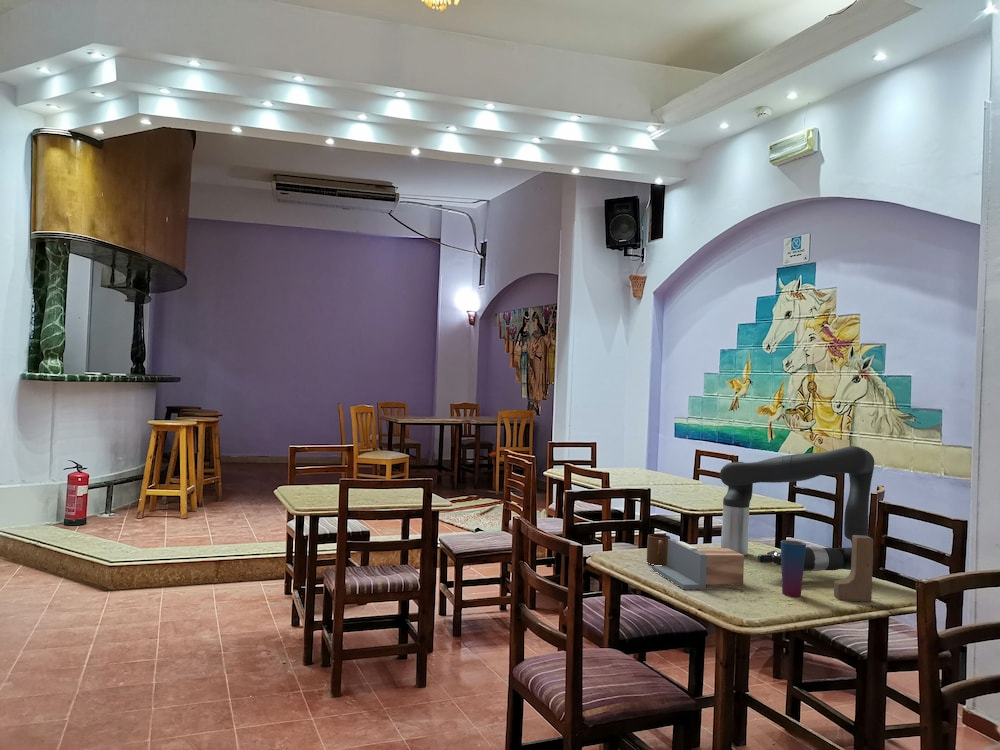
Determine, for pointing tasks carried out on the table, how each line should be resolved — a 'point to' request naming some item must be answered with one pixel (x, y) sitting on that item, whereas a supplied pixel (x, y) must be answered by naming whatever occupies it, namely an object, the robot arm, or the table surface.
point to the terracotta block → (723, 566)
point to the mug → (657, 549)
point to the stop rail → (684, 565)
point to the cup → (792, 567)
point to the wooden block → (858, 572)
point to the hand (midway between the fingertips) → (758, 558)
